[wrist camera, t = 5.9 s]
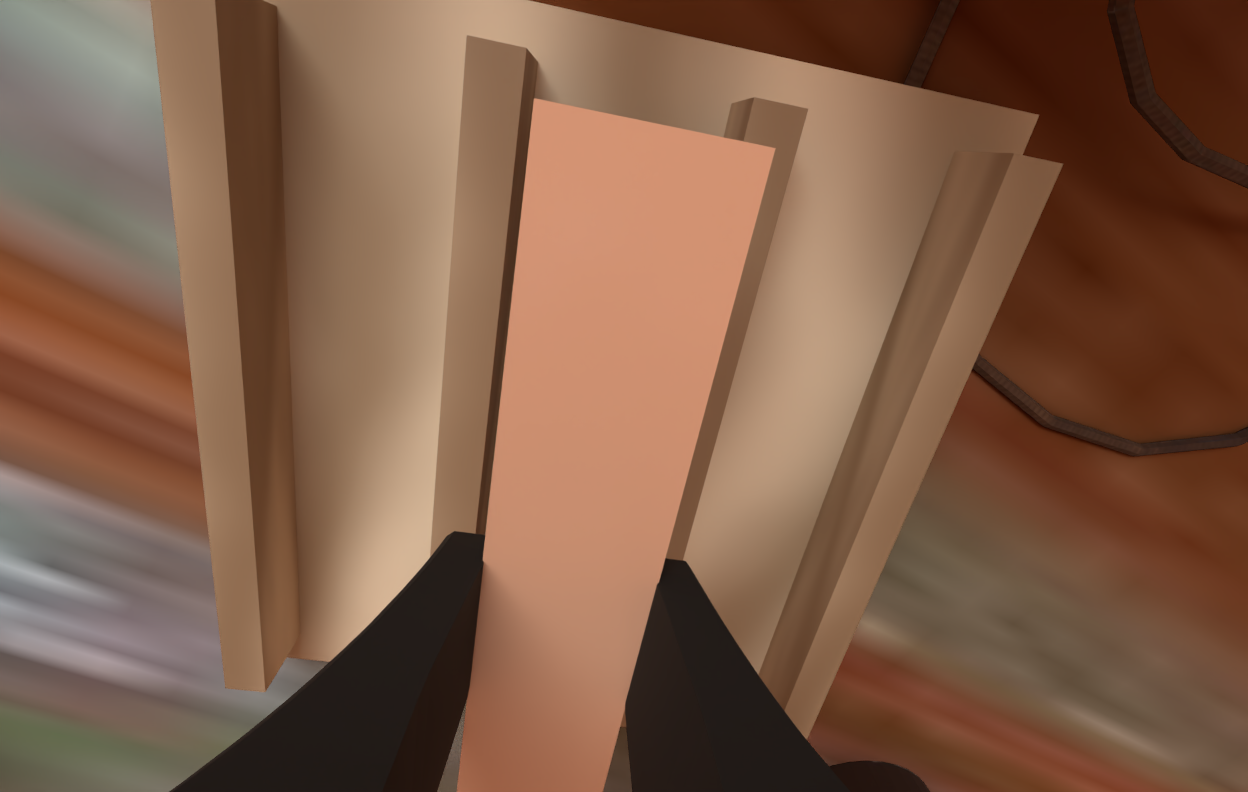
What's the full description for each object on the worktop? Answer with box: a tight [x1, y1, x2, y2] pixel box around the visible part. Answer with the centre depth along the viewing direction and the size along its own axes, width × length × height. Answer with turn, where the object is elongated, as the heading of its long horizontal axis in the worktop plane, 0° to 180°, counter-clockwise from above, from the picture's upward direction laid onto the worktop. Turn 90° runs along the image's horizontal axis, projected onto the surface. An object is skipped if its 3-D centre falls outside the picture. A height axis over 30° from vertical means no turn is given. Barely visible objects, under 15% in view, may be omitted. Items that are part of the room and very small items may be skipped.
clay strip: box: [457, 98, 776, 792], centre depth 11 cm, size 2×14×5 cm, turn 169°
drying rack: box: [151, 0, 1063, 740], centre depth 15 cm, size 17×18×3 cm
